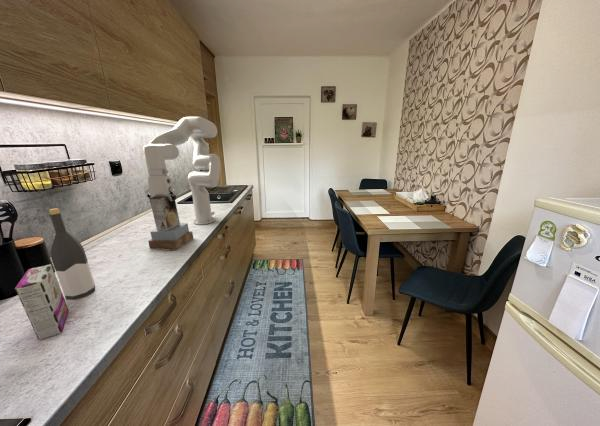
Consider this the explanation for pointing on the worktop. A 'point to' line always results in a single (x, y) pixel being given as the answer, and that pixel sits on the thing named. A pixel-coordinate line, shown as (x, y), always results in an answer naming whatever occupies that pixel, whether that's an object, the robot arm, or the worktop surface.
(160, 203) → the coffee box
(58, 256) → the wine bottle
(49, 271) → the candy bar box
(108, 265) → the worktop surface
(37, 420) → the worktop surface
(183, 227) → the tower top slab
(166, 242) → the tower base slab
